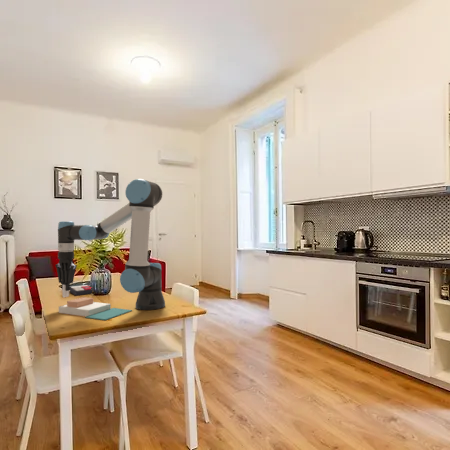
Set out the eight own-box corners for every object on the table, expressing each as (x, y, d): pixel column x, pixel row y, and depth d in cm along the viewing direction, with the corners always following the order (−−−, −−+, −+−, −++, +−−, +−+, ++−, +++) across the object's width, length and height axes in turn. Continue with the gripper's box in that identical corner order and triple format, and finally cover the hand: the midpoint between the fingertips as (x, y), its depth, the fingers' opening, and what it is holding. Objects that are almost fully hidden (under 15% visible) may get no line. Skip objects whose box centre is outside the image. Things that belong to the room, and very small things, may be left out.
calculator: (76, 290, 202) (69, 286, 214) (76, 297, 202) (69, 292, 214) (94, 288, 209) (87, 284, 221) (94, 294, 209) (87, 290, 221)
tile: (83, 302, 171) (83, 297, 171) (93, 303, 168) (93, 298, 168) (67, 306, 161) (67, 301, 161) (77, 307, 159) (77, 302, 159)
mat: (113, 308, 167) (113, 307, 167) (132, 311, 163) (132, 310, 163) (85, 317, 151) (85, 316, 151) (105, 320, 146) (105, 319, 146)
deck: (81, 306, 174) (81, 300, 174) (110, 309, 166) (110, 303, 166) (58, 312, 161) (58, 306, 161) (88, 316, 153) (88, 310, 153)
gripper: (50, 251, 168) (50, 297, 168) (69, 252, 163) (68, 299, 163) (63, 250, 175) (63, 294, 175) (81, 251, 170) (80, 296, 169)
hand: (65, 296), depth 169 cm, fingers closed
